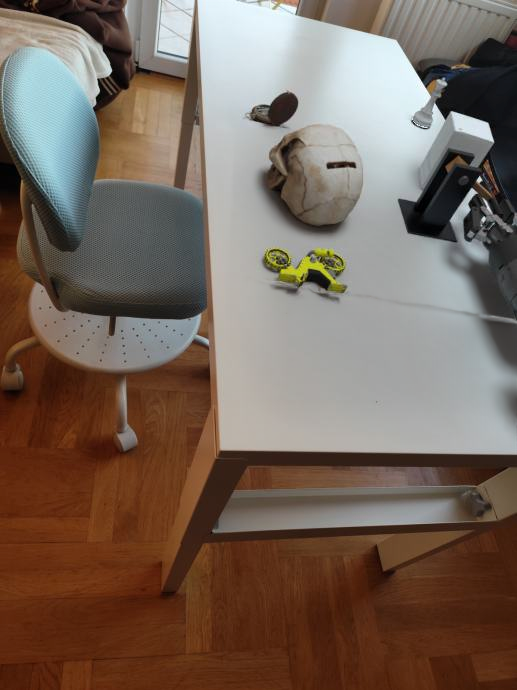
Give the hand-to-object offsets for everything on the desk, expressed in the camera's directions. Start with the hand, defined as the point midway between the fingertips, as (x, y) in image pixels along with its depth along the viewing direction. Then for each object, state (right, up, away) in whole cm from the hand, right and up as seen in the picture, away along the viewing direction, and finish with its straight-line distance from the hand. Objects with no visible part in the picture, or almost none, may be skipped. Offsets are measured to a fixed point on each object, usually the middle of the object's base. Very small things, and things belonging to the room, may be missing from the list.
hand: (488, 201), depth 79 cm
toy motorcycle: (-31, -14, -11) cm, 36 cm away
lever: (-4, +2, -1) cm, 4 cm away
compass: (-37, +19, +13) cm, 43 cm away
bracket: (-9, -3, +4) cm, 10 cm away
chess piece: (-2, +26, +28) cm, 38 cm away
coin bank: (-31, +1, +1) cm, 31 cm away
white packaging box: (-4, +6, +13) cm, 15 cm away
